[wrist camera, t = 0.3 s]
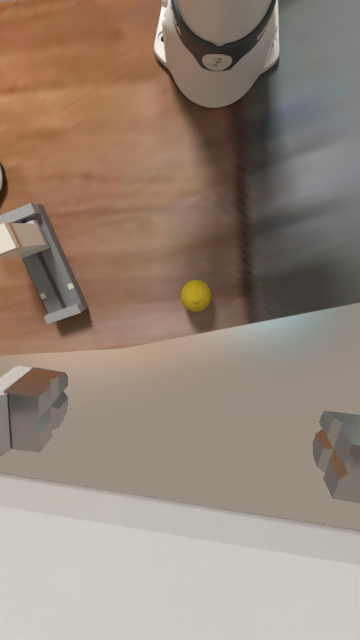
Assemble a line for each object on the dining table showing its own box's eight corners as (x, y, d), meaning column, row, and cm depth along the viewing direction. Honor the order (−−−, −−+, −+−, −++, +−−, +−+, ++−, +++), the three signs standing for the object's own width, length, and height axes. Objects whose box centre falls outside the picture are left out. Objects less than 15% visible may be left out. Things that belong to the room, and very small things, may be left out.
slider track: (8, 218, 54) (-6, 217, 51) (42, 204, 53) (30, 203, 50) (56, 317, 60) (47, 324, 56) (88, 307, 59) (80, 312, 55)
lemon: (216, 292, 57) (219, 303, 49) (193, 310, 58) (193, 323, 50) (198, 270, 55) (198, 277, 48) (175, 289, 57) (172, 298, 49)
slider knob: (10, 230, 53) (-33, 231, 43) (38, 219, 52) (1, 217, 42) (23, 257, 54) (-15, 264, 44) (51, 247, 53) (18, 252, 43)
